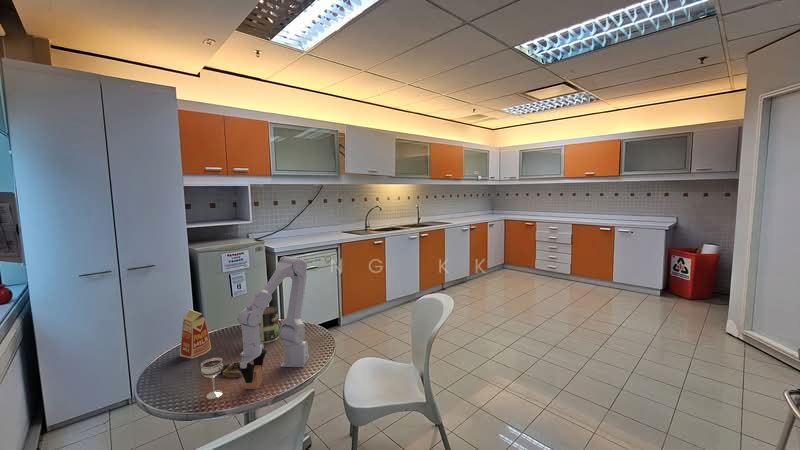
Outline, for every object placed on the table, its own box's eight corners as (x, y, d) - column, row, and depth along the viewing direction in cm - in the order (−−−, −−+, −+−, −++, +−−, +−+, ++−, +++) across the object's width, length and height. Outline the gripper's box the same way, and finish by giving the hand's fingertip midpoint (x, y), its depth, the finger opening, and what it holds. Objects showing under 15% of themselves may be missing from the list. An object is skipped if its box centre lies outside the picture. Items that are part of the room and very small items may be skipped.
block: (262, 381, 126) (261, 365, 125) (257, 388, 122) (256, 371, 121) (250, 381, 126) (249, 365, 125) (245, 388, 122) (244, 372, 121)
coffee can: (282, 333, 167) (280, 306, 165) (274, 343, 157) (272, 314, 155) (261, 333, 167) (260, 306, 165) (252, 343, 157) (250, 314, 155)
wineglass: (228, 387, 122) (225, 356, 121) (220, 399, 116) (218, 366, 114) (208, 389, 122) (205, 358, 120) (199, 401, 115) (196, 368, 113)
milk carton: (179, 355, 146) (175, 311, 144) (199, 346, 155) (195, 304, 152) (194, 359, 143) (190, 314, 140) (213, 349, 151) (209, 307, 149)
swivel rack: (215, 364, 138) (215, 358, 137) (251, 366, 137) (250, 359, 136) (204, 375, 130) (203, 368, 130) (241, 376, 129) (240, 369, 129)
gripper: (249, 332, 129) (252, 365, 131) (230, 350, 115) (232, 388, 116) (268, 332, 129) (270, 365, 131) (250, 350, 115) (253, 388, 116)
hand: (253, 376), depth 124 cm, fingers open, 7 cm apart
